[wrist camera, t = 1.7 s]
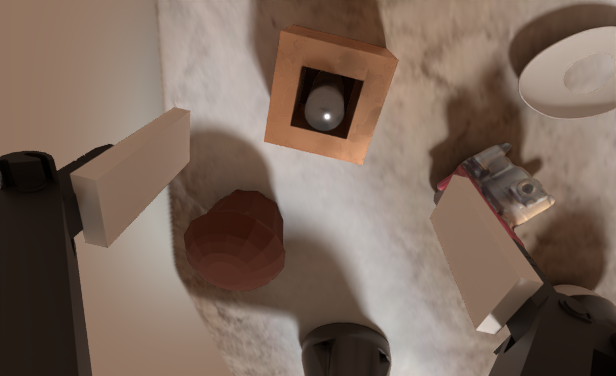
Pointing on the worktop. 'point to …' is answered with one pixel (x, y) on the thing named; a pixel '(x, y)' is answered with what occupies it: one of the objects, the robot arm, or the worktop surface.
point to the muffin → (237, 242)
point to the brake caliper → (502, 187)
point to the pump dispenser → (592, 304)
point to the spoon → (552, 67)
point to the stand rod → (325, 101)
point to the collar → (335, 59)
